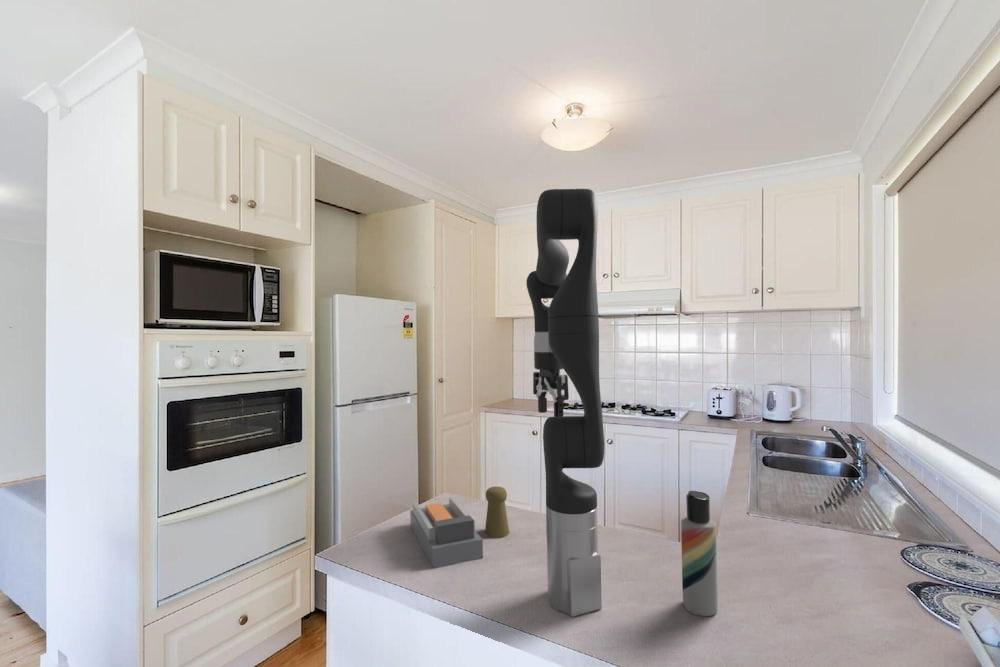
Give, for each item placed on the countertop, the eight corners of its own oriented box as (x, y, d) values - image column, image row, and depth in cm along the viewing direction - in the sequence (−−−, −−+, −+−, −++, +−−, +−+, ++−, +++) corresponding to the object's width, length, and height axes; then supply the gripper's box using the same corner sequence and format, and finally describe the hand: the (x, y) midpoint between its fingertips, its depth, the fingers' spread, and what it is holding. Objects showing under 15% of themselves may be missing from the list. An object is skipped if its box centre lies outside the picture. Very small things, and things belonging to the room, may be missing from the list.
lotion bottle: (688, 594, 86) (686, 485, 86) (722, 605, 83) (719, 491, 83) (678, 609, 82) (675, 494, 82) (712, 621, 78) (710, 501, 78)
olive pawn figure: (508, 538, 112) (507, 492, 112) (483, 537, 112) (482, 491, 112) (510, 528, 118) (509, 484, 118) (486, 527, 118) (485, 483, 118)
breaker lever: (460, 532, 105) (460, 527, 105) (443, 535, 104) (442, 530, 104) (440, 507, 121) (440, 502, 121) (425, 509, 120) (425, 505, 120)
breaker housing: (482, 557, 102) (482, 521, 102) (433, 568, 98) (432, 529, 98) (452, 518, 124) (451, 488, 124) (410, 525, 120) (410, 494, 120)
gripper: (576, 350, 113) (578, 418, 112) (548, 349, 126) (550, 409, 126) (549, 351, 110) (550, 420, 110) (523, 350, 123) (524, 412, 123)
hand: (550, 414), depth 118 cm, fingers open, 8 cm apart
